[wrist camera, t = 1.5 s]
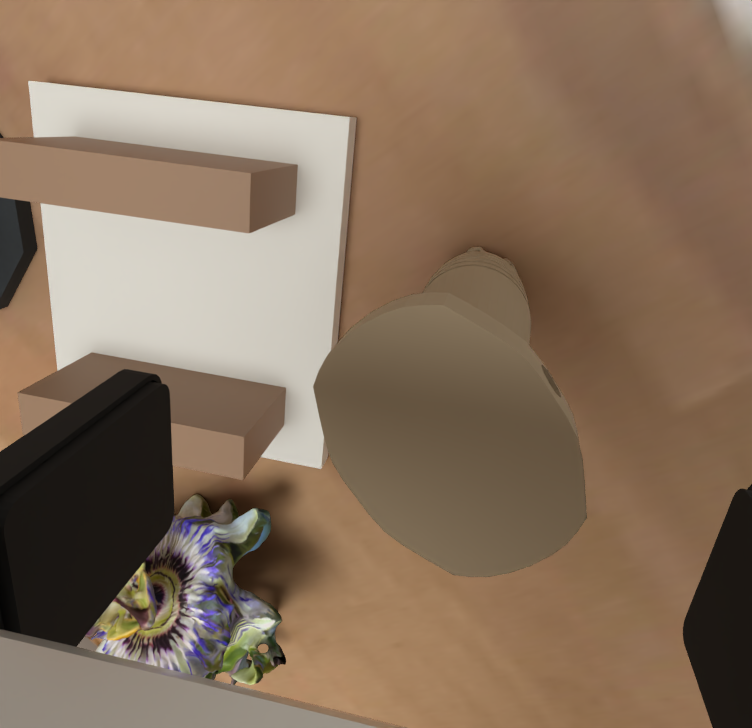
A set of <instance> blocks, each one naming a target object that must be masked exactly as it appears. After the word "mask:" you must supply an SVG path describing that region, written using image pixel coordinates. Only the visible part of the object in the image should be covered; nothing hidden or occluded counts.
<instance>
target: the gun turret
mask: <svg viewBox="0 0 752 728" xmlns="http://www.w3.org/2000/svg"><path fill="white" fill-rule="evenodd" d="M0 138H3V136H2V135H1V134H0ZM36 251H37V243H36V236H35V230H34V224H33V218H32V212H31V206H30V202H29V201H22V200H15V199H8V198H1V197H0V309H2V308H5V307H7V306H8V305H9V303H10V301H11V299H12V297H13V295H14V293H15V291H16V290H17V288H18V286H19V284H20V282H21V280H22V278H23V276H24V274H25V272H26V270H27V268H28V266H29V264H30V262H31V260H32V258H33V256H34V254H35V253H36Z"/></svg>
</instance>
